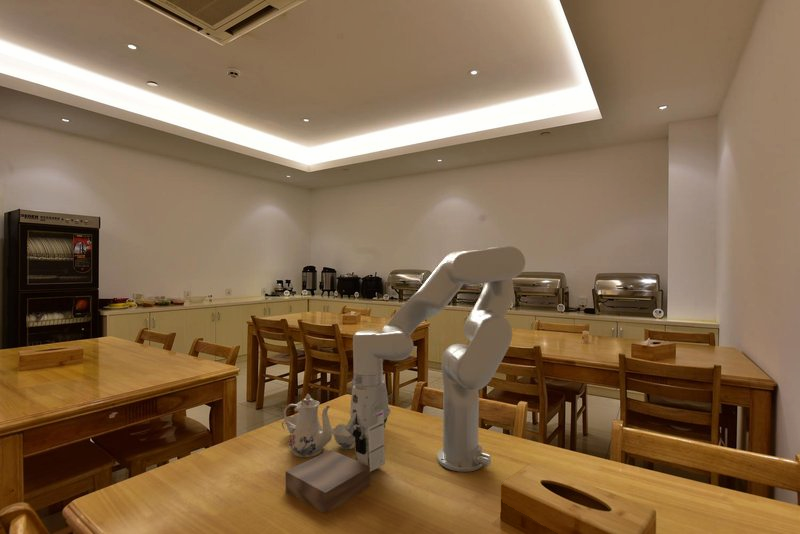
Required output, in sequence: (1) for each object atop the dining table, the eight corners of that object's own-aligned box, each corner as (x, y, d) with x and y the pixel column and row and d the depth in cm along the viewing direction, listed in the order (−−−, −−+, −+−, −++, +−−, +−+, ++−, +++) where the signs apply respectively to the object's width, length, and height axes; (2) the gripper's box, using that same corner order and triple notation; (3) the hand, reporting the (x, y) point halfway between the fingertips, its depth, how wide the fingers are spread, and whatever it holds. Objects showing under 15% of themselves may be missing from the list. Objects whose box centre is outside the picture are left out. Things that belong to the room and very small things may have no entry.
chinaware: (368, 447, 119) (371, 391, 121) (343, 468, 104) (346, 403, 105) (289, 433, 129) (293, 381, 130) (254, 451, 113) (259, 391, 114)
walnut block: (369, 487, 96) (369, 466, 96) (325, 516, 85) (325, 492, 85) (330, 468, 105) (330, 449, 105) (285, 492, 94) (285, 471, 94)
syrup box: (386, 463, 104) (384, 408, 103) (369, 473, 99) (368, 415, 99) (371, 456, 108) (369, 403, 107) (354, 465, 103) (353, 409, 103)
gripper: (354, 390, 94) (355, 465, 94) (400, 373, 107) (402, 439, 108) (333, 384, 99) (335, 456, 99) (380, 369, 112) (381, 432, 112)
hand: (369, 447), depth 103 cm, fingers closed on syrup box, 6 cm apart
